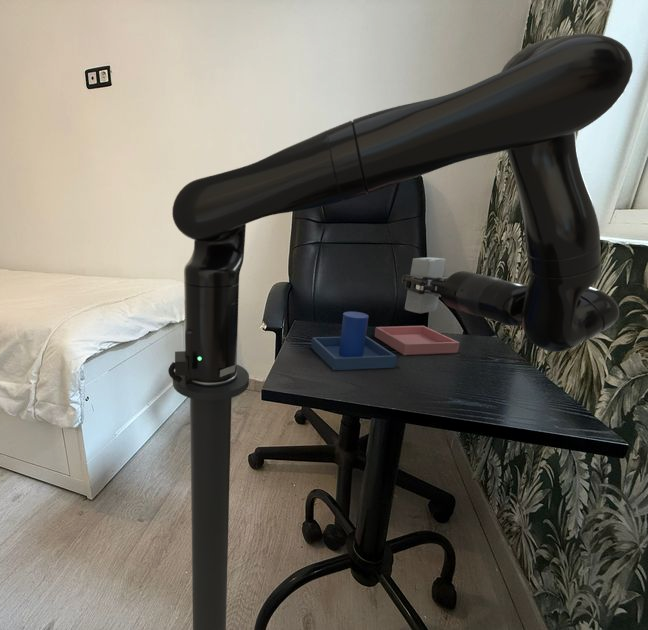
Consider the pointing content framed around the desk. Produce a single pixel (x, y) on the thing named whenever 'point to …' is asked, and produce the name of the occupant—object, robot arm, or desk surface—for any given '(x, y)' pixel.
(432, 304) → the cosmetic box
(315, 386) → the desk surface
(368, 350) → the blue tray
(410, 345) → the rose tray
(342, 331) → the blue canister
